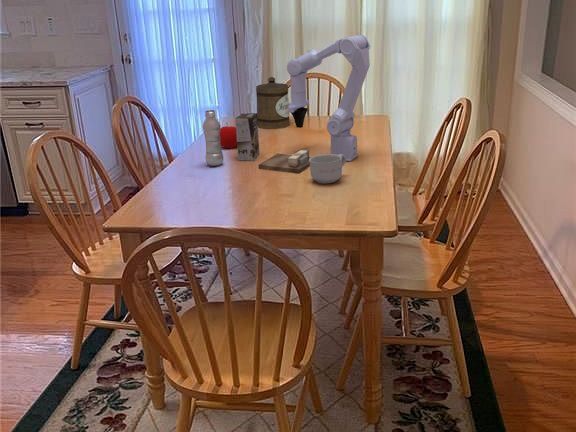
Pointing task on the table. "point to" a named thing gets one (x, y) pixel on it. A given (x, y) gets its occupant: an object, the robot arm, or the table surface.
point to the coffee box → (247, 136)
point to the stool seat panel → (284, 164)
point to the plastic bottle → (212, 139)
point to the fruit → (228, 137)
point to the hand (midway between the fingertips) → (299, 127)
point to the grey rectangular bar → (297, 157)
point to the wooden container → (272, 105)
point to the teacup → (326, 167)
